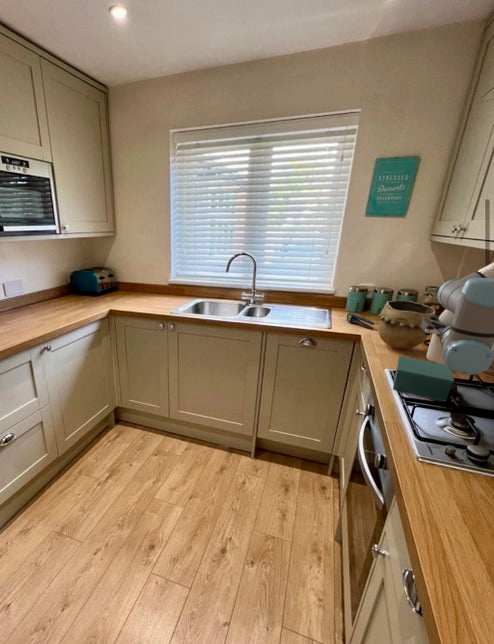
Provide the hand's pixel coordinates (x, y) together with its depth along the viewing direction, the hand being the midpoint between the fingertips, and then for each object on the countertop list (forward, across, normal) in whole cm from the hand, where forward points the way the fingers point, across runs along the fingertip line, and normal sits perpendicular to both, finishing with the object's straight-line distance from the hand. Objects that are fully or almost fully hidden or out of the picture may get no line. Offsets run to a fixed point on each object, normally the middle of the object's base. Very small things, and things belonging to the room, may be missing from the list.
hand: (451, 321), depth 97 cm
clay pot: (+46, -10, -24) cm, 53 cm away
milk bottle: (-5, 0, -11) cm, 12 cm away
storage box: (+4, -3, -24) cm, 24 cm away
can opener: (+78, -29, -24) cm, 87 cm away
